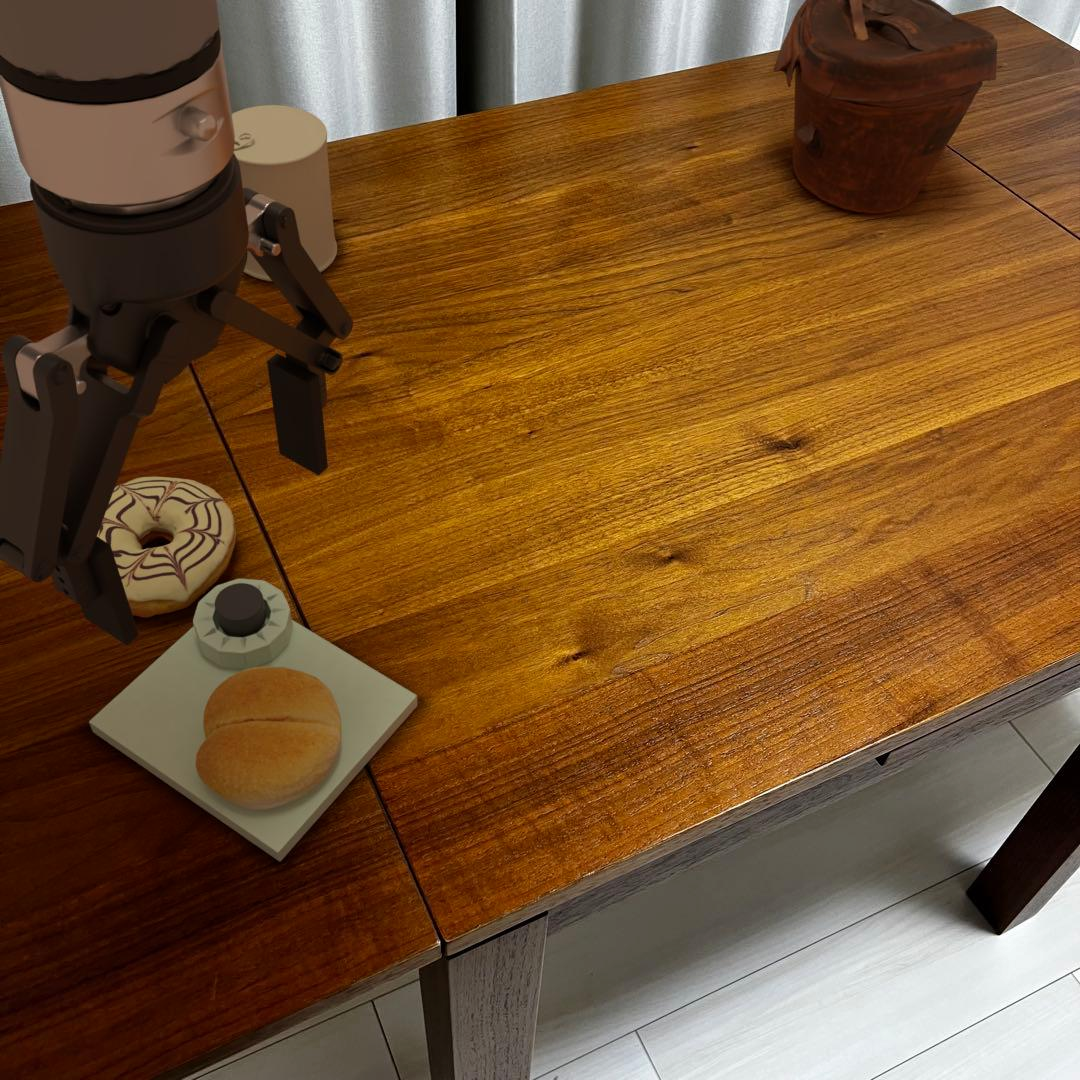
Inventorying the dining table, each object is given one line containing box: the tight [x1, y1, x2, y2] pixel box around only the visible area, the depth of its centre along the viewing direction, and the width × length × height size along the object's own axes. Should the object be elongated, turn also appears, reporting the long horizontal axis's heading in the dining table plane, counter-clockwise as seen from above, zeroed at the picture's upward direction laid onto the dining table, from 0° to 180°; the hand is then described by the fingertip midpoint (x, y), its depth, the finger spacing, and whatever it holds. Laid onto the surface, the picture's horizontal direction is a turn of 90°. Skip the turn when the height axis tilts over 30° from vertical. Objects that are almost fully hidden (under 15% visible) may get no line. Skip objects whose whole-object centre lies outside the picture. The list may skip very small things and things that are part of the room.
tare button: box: [215, 583, 266, 637], centre depth 75 cm, size 3×3×2 cm
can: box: [232, 104, 338, 282], centre depth 102 cm, size 9×9×12 cm
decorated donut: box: [97, 476, 237, 619], centre depth 81 cm, size 10×11×4 cm
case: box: [773, 0, 998, 214], centre depth 113 cm, size 18×20×18 cm
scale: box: [88, 577, 418, 863], centre depth 73 cm, size 15×13×3 cm
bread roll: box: [195, 667, 341, 810], centre depth 70 cm, size 8×9×4 cm
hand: (214, 538), depth 60 cm, fingers open, 13 cm apart
